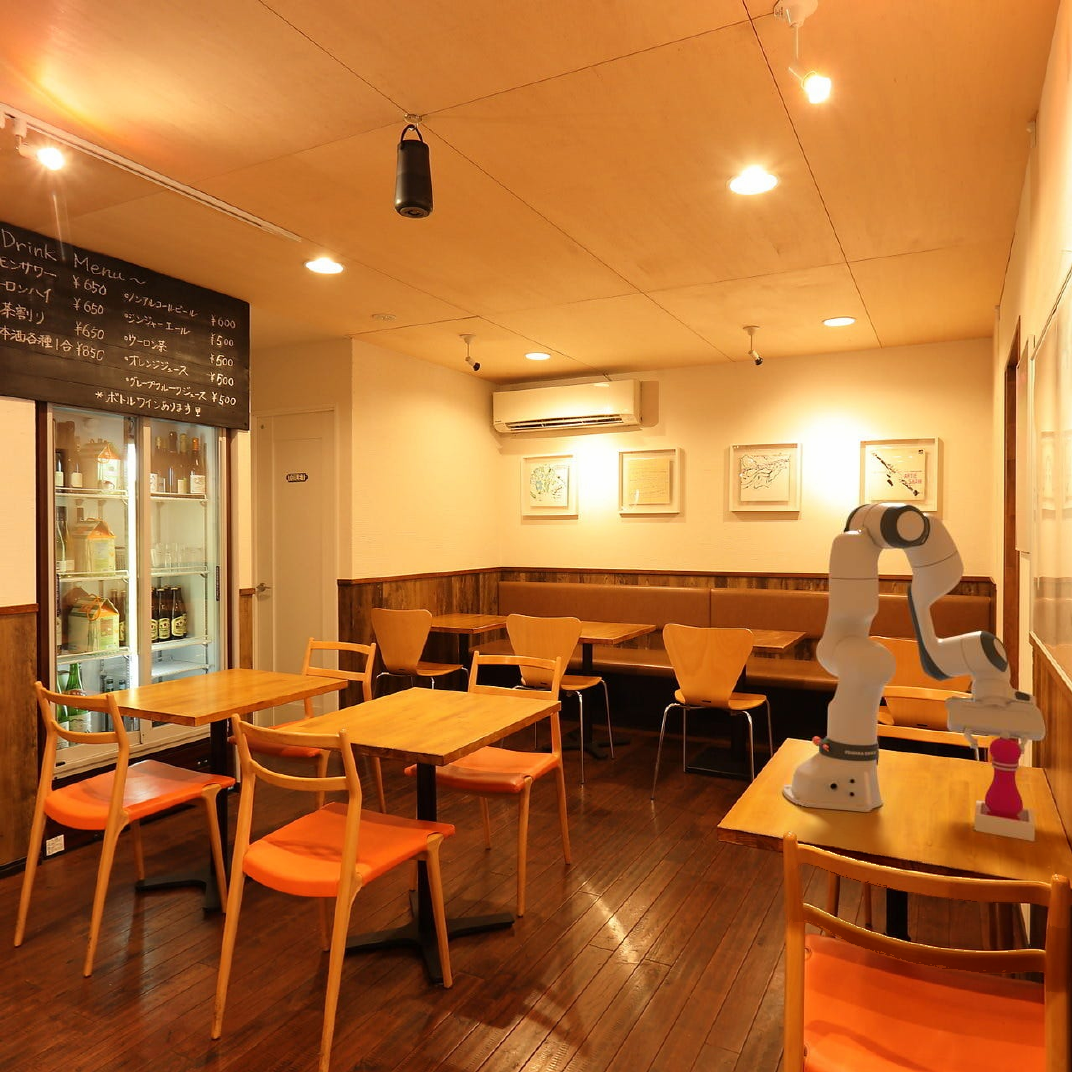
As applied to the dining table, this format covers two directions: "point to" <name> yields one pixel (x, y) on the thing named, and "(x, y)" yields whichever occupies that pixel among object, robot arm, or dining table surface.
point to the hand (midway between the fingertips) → (997, 749)
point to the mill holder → (1005, 823)
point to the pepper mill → (1004, 779)
